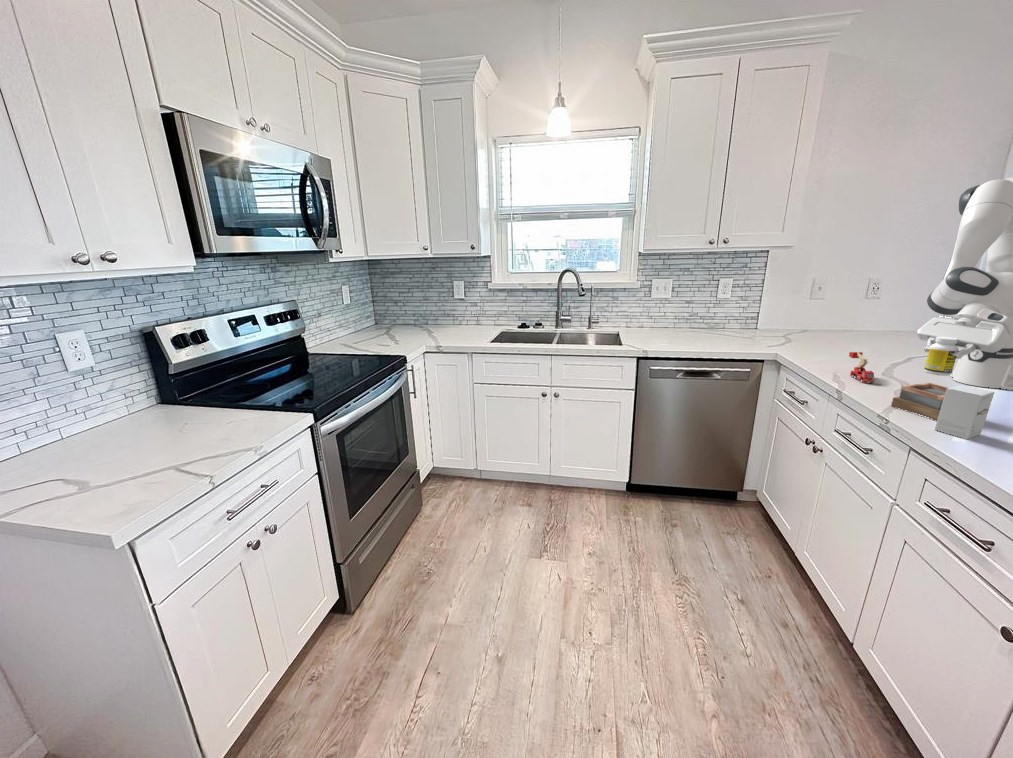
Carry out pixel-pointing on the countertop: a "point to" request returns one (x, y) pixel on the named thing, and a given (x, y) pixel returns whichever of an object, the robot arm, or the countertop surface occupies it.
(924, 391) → the wooden tray
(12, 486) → the countertop surface
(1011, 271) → the robot arm
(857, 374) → the toy fire truck
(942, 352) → the pill bottle
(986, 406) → the supplement box
